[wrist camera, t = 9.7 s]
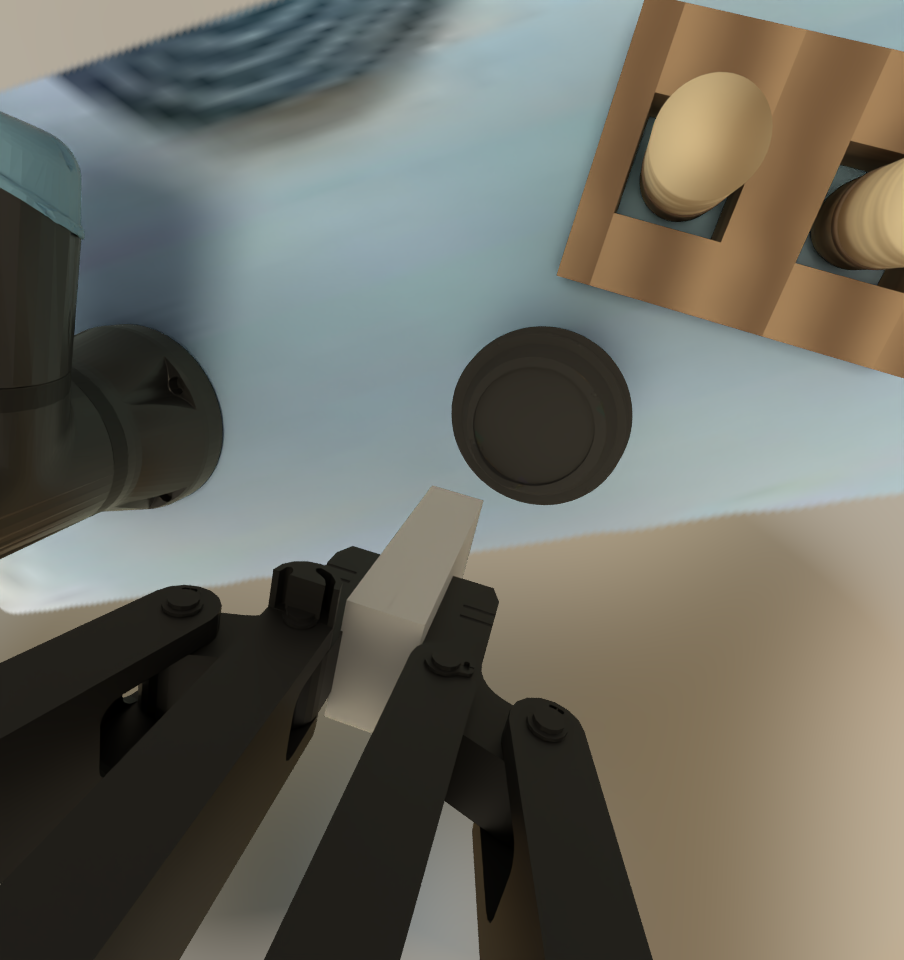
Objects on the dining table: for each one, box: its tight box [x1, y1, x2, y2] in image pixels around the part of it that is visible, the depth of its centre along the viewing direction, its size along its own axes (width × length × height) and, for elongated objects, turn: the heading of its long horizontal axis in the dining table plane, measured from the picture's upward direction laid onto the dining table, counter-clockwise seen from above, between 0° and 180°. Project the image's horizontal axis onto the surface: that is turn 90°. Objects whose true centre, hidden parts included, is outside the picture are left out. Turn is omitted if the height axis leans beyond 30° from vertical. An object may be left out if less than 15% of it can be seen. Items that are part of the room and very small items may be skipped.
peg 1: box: [640, 72, 773, 222], centre depth 31 cm, size 5×5×12 cm
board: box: [557, 0, 904, 378], centre depth 34 cm, size 20×14×5 cm
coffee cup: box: [452, 326, 632, 505], centre depth 36 cm, size 9×9×15 cm
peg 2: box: [811, 158, 904, 270], centre depth 30 cm, size 5×5×12 cm
